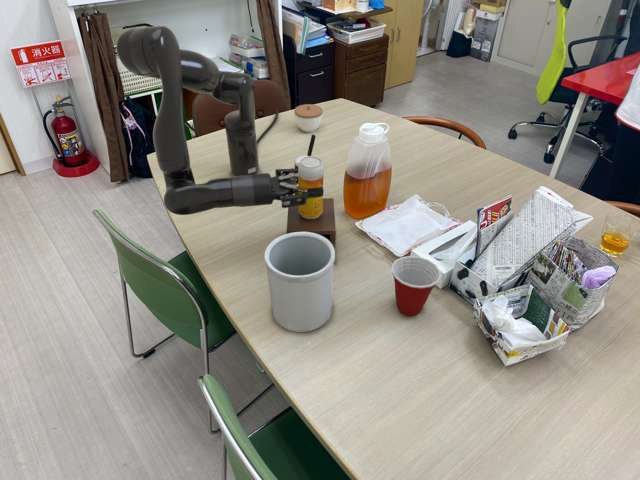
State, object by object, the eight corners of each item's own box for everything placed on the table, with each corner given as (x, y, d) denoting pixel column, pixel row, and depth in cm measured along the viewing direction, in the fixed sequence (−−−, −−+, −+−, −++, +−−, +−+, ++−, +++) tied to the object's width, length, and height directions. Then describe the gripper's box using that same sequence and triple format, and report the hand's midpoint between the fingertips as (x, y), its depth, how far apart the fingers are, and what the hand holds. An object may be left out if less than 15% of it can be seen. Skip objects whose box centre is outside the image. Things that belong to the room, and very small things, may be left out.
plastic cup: (435, 296, 111) (444, 259, 103) (428, 329, 103) (437, 292, 95) (391, 285, 113) (396, 248, 106) (381, 317, 105) (386, 279, 98)
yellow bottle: (319, 221, 115) (321, 169, 105) (296, 218, 116) (295, 166, 106) (324, 208, 119) (326, 156, 110) (301, 205, 120) (301, 153, 111)
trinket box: (312, 137, 174) (312, 114, 168) (289, 130, 178) (288, 107, 172) (327, 127, 181) (328, 104, 175) (305, 120, 185) (304, 97, 179)
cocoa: (296, 181, 150) (295, 148, 142) (288, 172, 154) (287, 139, 147) (322, 173, 154) (322, 141, 146) (313, 165, 158) (313, 133, 150)
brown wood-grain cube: (290, 230, 130) (288, 198, 123) (332, 230, 130) (333, 198, 123) (288, 264, 119) (286, 230, 112) (334, 263, 119) (335, 230, 112)
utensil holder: (257, 304, 108) (251, 247, 97) (309, 278, 115) (308, 222, 104) (292, 345, 99) (289, 288, 88) (346, 314, 106) (349, 257, 95)
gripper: (252, 193, 102) (326, 187, 105) (248, 161, 113) (315, 156, 116) (255, 220, 107) (326, 213, 109) (250, 187, 118) (315, 181, 120)
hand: (320, 184), depth 112 cm, fingers closed on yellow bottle, 6 cm apart
